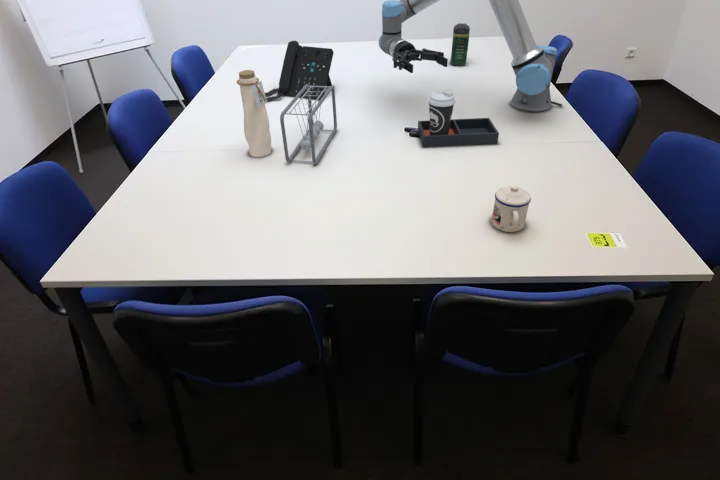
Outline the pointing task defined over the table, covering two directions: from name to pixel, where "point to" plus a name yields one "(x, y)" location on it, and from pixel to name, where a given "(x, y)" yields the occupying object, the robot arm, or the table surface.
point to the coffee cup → (440, 112)
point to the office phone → (304, 71)
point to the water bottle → (255, 114)
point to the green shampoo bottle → (460, 44)
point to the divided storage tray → (460, 133)
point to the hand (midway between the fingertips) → (429, 66)
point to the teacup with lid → (510, 208)
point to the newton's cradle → (313, 127)
